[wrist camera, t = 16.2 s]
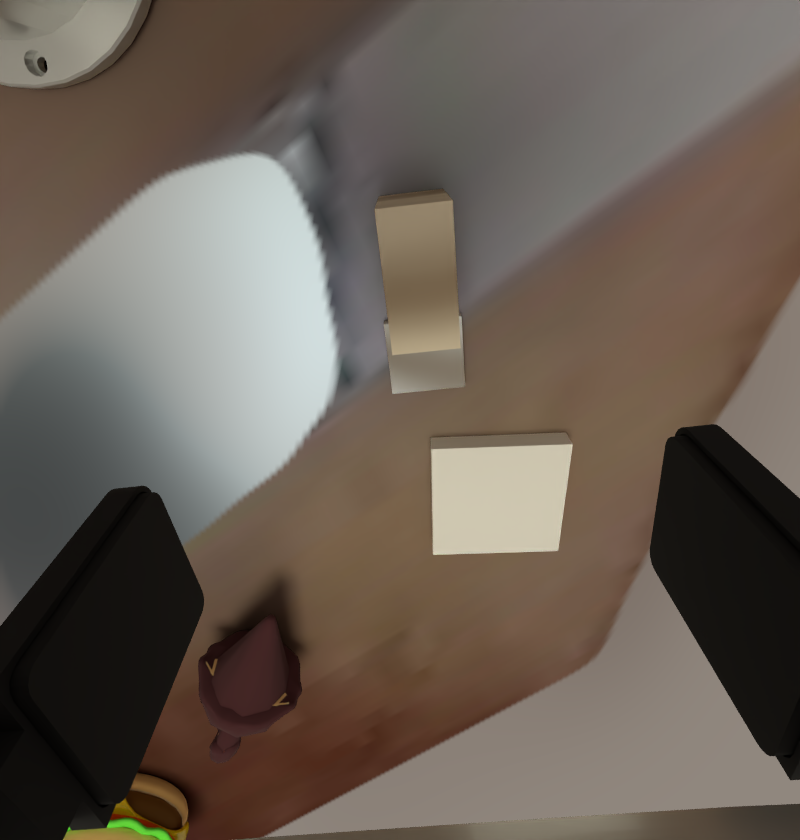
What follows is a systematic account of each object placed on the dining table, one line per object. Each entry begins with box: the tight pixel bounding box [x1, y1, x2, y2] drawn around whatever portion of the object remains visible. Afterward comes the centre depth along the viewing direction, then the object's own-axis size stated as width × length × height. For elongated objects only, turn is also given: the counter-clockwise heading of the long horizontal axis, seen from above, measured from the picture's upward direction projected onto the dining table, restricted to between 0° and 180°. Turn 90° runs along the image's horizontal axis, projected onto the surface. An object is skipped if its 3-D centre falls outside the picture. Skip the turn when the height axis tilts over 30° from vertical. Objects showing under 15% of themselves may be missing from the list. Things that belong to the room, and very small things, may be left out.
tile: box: [430, 432, 573, 555], centre depth 32 cm, size 2×8×8 cm
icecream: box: [198, 614, 302, 763], centre depth 36 cm, size 7×7×15 cm
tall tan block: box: [374, 189, 465, 394], centre depth 24 cm, size 10×4×5 cm, turn 6°
